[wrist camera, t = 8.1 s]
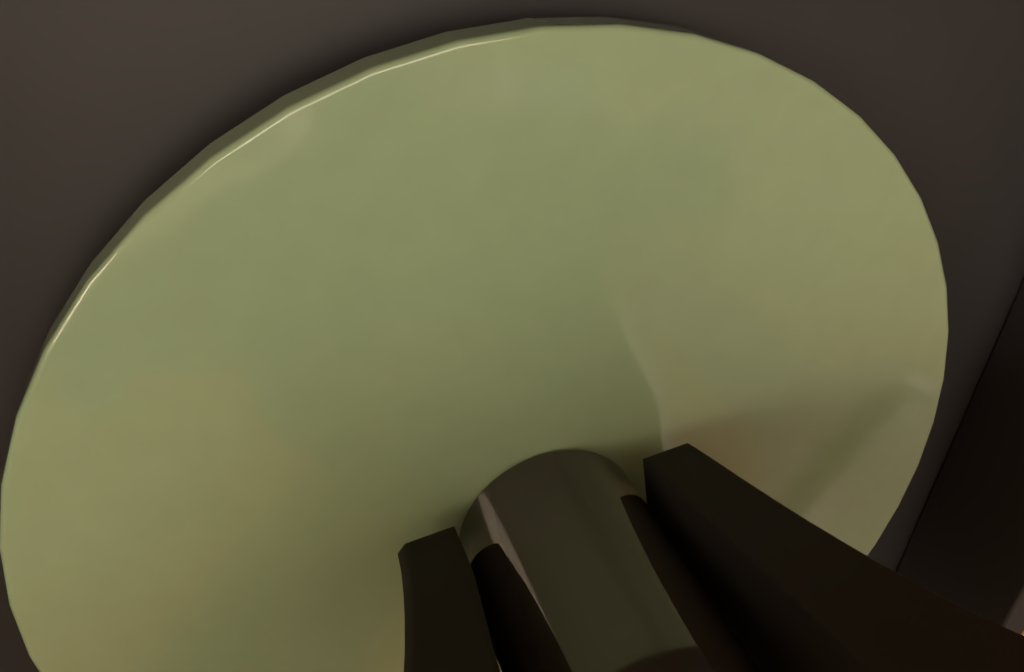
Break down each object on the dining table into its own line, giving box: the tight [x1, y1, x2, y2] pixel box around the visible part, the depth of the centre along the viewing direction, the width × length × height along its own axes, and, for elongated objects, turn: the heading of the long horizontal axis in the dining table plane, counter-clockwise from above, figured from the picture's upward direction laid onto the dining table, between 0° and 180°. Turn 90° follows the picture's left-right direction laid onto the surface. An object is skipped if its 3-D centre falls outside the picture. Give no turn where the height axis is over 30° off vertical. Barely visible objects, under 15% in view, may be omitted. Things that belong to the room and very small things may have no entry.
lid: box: [0, 17, 949, 672], centre depth 10 cm, size 12×12×5 cm
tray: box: [0, 0, 1024, 672], centre depth 11 cm, size 17×16×3 cm
